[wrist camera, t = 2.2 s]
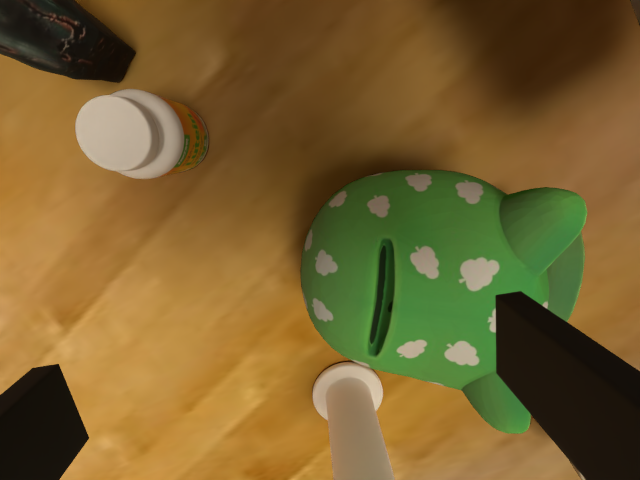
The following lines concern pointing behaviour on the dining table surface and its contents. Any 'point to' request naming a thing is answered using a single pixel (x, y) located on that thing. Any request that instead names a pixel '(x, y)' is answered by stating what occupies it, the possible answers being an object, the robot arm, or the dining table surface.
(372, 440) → the candle
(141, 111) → the supplement bottle
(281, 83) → the dining table surface
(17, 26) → the ceramic cat
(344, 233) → the piggy bank
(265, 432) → the dining table surface
